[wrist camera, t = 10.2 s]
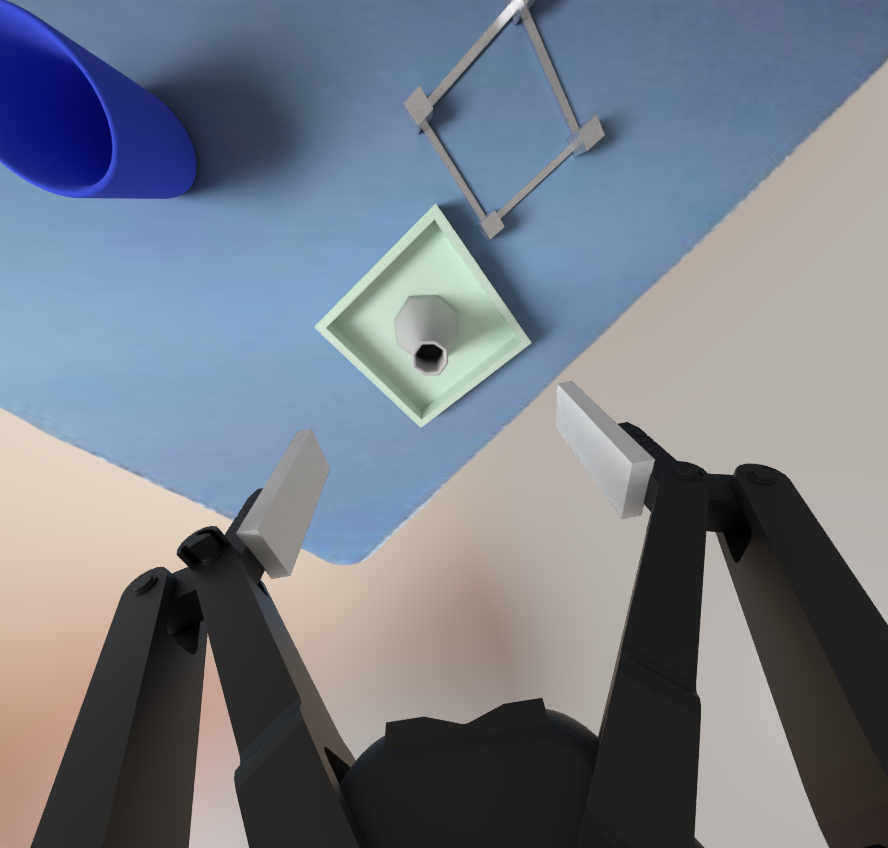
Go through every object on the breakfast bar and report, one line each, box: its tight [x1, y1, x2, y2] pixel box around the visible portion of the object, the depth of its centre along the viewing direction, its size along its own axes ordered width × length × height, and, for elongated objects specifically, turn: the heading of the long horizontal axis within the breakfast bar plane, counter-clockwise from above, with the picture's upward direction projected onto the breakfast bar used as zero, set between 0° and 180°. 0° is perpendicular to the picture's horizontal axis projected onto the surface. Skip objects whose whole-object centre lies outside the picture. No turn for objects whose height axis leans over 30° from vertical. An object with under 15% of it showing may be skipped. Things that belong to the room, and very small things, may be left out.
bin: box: [314, 204, 531, 427], centre depth 34 cm, size 16×16×3 cm
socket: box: [404, 0, 605, 240], centre depth 26 cm, size 12×12×2 cm
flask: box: [394, 295, 458, 376], centre depth 30 cm, size 7×7×10 cm
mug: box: [0, 0, 197, 199], centre depth 21 cm, size 8×12×10 cm
